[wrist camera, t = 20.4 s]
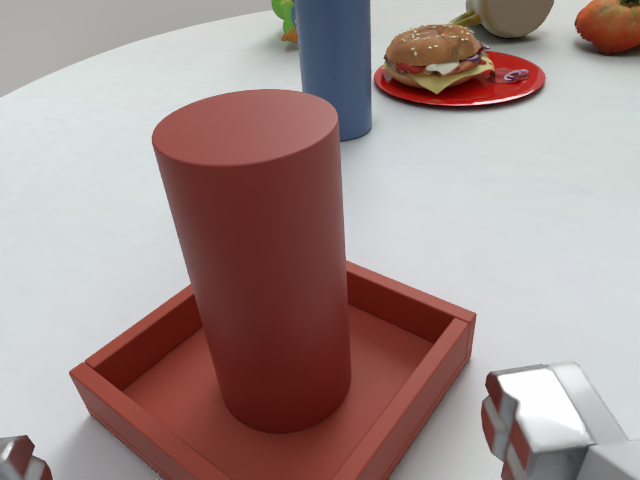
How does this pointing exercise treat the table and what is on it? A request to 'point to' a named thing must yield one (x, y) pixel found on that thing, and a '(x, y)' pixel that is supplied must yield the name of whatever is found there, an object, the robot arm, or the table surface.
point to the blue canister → (337, 59)
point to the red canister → (264, 248)
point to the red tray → (293, 447)
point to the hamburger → (453, 69)
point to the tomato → (610, 24)
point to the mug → (505, 16)
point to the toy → (286, 18)
